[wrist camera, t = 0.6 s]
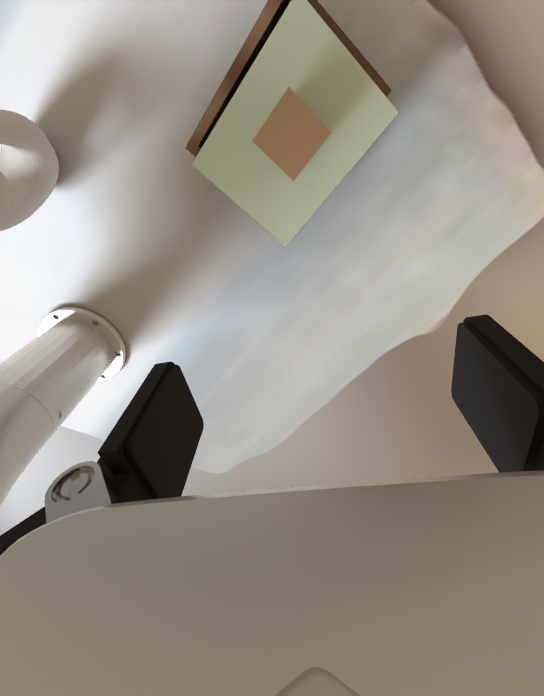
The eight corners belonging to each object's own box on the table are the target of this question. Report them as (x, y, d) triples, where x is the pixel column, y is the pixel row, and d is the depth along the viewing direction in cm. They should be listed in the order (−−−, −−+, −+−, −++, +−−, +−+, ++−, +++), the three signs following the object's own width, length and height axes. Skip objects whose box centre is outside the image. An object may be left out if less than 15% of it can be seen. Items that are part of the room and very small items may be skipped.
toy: (30, 99, 34) (-129, 65, 21) (96, 142, 35) (-12, 134, 22) (13, 199, 39) (-123, 221, 26) (72, 232, 40) (-28, 267, 28)
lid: (285, 244, 32) (285, 261, 27) (193, 164, 29) (174, 166, 24) (395, 113, 27) (421, 103, 22) (297, -6, 23) (300, -50, 18)
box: (281, 217, 39) (280, 230, 32) (204, 149, 35) (185, 147, 28) (369, 103, 33) (391, 90, 26) (287, 10, 29) (288, -35, 23)
